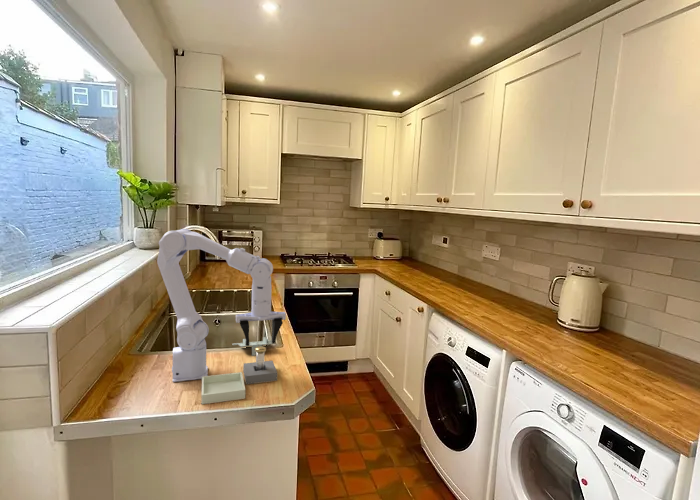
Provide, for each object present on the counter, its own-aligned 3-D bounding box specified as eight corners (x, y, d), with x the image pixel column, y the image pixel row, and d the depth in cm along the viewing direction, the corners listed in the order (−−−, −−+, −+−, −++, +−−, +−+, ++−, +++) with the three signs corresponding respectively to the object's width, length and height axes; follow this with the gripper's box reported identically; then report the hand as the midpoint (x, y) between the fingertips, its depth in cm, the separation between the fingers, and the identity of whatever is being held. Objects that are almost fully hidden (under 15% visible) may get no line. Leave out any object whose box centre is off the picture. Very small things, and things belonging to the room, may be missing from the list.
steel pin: (255, 378, 112) (255, 350, 111) (253, 374, 115) (254, 346, 114) (265, 377, 113) (266, 349, 112) (264, 372, 116) (265, 345, 115)
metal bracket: (279, 337, 132) (234, 341, 127) (279, 354, 131) (235, 359, 126) (272, 335, 145) (232, 338, 140) (272, 351, 144) (232, 354, 139)
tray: (201, 404, 97) (201, 395, 97) (202, 384, 107) (202, 376, 107) (245, 398, 101) (245, 389, 100) (241, 380, 111) (241, 372, 111)
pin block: (246, 384, 109) (246, 376, 108) (243, 371, 117) (243, 363, 117) (277, 380, 112) (277, 372, 111) (272, 367, 120) (272, 360, 120)
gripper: (237, 304, 105) (236, 350, 107) (288, 302, 110) (286, 346, 112) (235, 298, 112) (234, 341, 113) (283, 296, 117) (282, 337, 119)
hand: (260, 343), depth 113 cm, fingers open, 7 cm apart
